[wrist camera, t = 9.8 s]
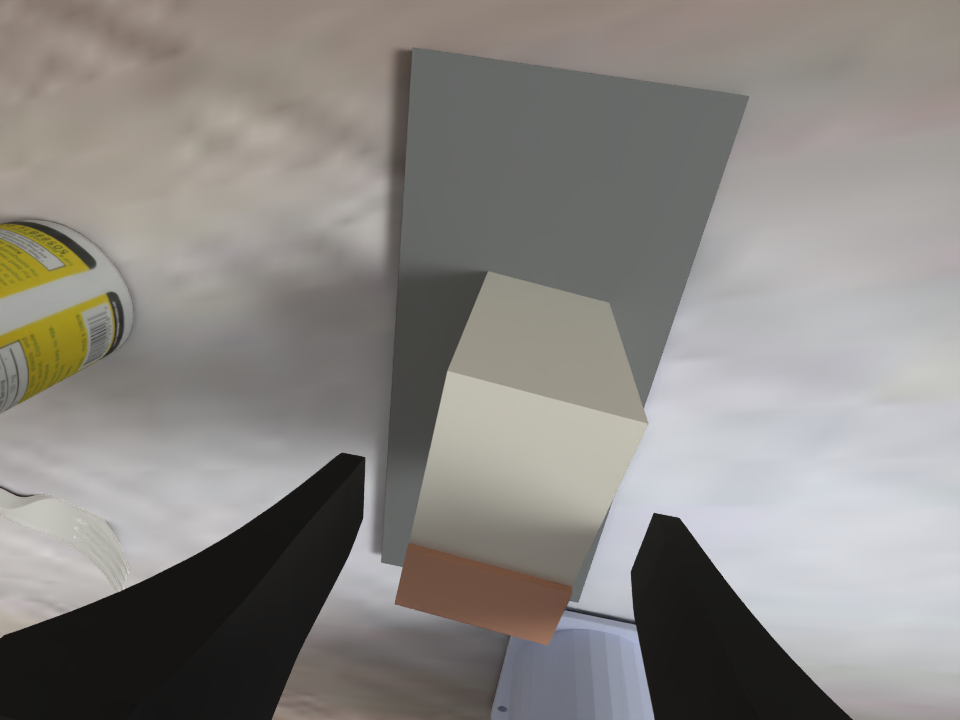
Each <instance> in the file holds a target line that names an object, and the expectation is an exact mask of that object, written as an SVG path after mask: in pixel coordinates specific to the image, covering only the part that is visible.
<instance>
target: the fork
mask: <svg viewBox="0 0 960 720" xmlns="http://www.w3.org/2000/svg"><path fill="white" fill-rule="evenodd" d="M0 515H1V516H3V517H5V518H7V519H9V520H11V521H13V522H16V523H18V524H20V525H23V526H25V527H27V528H30V529H32V530H35V531H38V532H41V533H44V534H48V535H51V536H54V537H56V538H59V539H61V540H63V541H65V542H67V543H69V544H70V545H72V546H74V547H75V548H76V549H78V550H79V551H80V552H82V553H83V554H84V555H86V556H87V557H88V558H89V559H90V560H91V561H92V562H93V563H94V564H95V565H97V566H98V567H99V569H100V570H101V571H102V572H103V573H104V575H105V576H106V577H107V579H108V580H109V581H110V583H111V584H112V586H113V587H114V589H115V591H116V592H117V593H118V592H120V591H121V590H120V587H119V585H118V582H119V584H120V586H121V588H122V590H124V589H125V586H124V582H123V579H124V581H125V582H126V581H127V576H126V572H127V574H129V573H130V571H129V567H128V563H127V560H126V557H125V555H124V552H123V550H122V547H121V545H120V543H119V541H118V539H117V538H116V536H115V534H114V533H113V531H112V530H111V528H110V527H109V525H108V524H107V523H106V521H105V520H104V519H103V518H101V517H99V516H97V515H95V514H93V513H91V512H88V511H86V510H84V509H82V508H80V507H78V506H75V505H73V504H70V503H68V502H66V501H64V500H62V499H59V498H56V497H53V496H50V495H44V494H38V495H34V496H30V497H18V496H15V495H13V494H11V493H9V492H7V491H5V490H3V489H1V488H0ZM78 518H80V519H82V520H83V521H84V522H86V523H87V524H88V525H87V524H85V523H83V522H81V521H79V520H78ZM76 526H77V527H79V528H80V529H82V530H83V531H84V532H85V533H84V532H82V531H80V530H78V529H77V528H76ZM74 535H76V536H78V537H79V538H80V539H82V540H83V541H82V540H80V539H78V538H76V537H75V536H74ZM122 564H123V565H122ZM123 566H124V567H123ZM124 568H125V570H126V572H125V570H124ZM120 573H121V574H120ZM121 575H122V577H123V579H122V577H121ZM115 577H116V578H115ZM116 579H117V580H118V582H117V580H116Z"/></svg>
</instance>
